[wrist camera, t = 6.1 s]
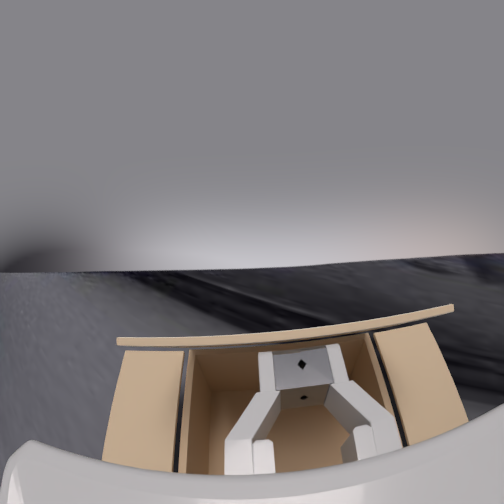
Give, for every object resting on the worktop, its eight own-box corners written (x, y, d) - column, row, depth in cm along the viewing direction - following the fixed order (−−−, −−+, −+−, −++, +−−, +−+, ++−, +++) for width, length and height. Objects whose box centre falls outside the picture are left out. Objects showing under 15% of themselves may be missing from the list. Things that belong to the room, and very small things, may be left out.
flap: (365, 327, 21) (453, 303, 10) (365, 331, 21) (454, 311, 10) (191, 343, 22) (116, 337, 10) (191, 347, 21) (116, 345, 10)
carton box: (399, 365, 25) (424, 319, 21) (444, 543, 9) (495, 538, 4) (155, 388, 26) (126, 346, 21) (140, 575, 9) (93, 584, 5)
